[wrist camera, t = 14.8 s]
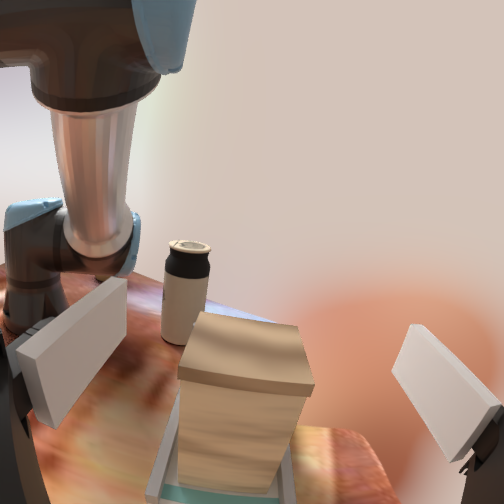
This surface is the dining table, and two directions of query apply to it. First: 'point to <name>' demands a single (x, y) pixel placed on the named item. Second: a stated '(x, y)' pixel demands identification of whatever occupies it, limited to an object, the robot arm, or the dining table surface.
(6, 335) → the dining table surface
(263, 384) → the wooden block
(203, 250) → the travel mug
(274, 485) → the bay
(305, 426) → the dining table surface
